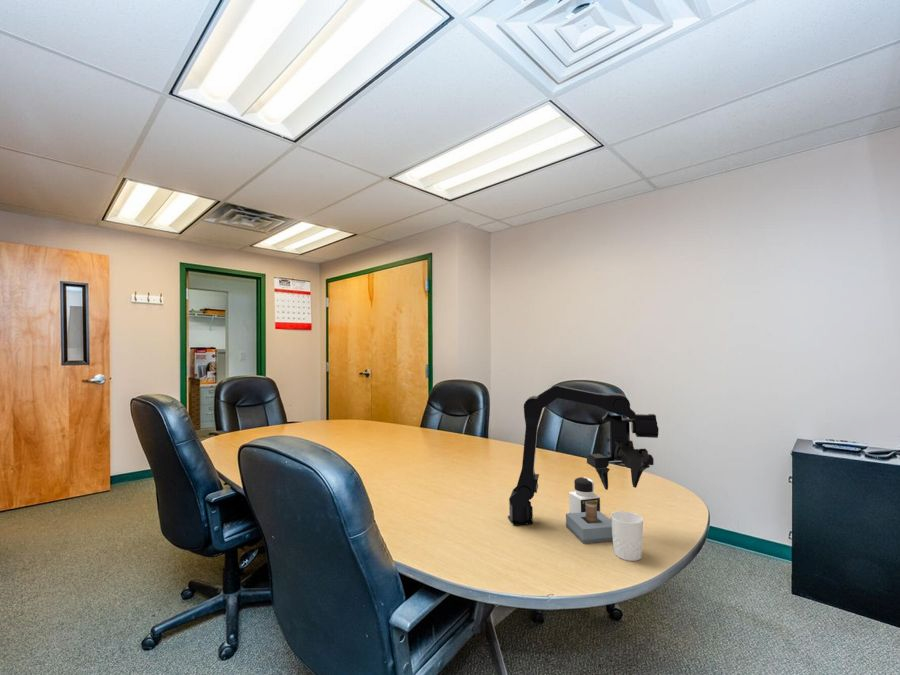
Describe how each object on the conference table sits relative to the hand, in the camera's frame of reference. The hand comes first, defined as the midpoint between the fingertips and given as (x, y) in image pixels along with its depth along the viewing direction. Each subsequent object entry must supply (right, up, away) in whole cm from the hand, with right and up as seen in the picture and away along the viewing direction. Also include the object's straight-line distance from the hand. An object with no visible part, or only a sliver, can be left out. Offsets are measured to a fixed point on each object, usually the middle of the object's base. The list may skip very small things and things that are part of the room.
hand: (620, 488), depth 122 cm
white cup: (-4, -13, -13) cm, 19 cm away
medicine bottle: (-7, -14, +12) cm, 19 cm away
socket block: (-9, -13, -1) cm, 16 cm away
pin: (-9, -12, -1) cm, 15 cm away
